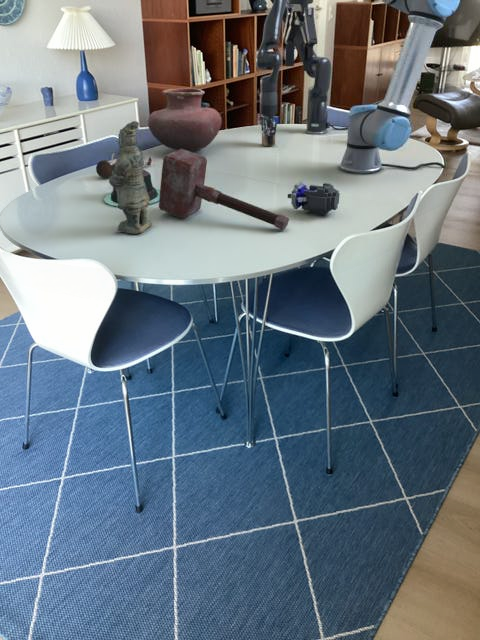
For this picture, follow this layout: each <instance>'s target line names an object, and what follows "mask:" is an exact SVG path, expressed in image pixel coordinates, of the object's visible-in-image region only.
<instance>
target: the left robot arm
mask: <svg viewBox="0 0 480 640" xmlns="http://www.w3.org/2000/svg"><path fill="white" fill-rule="evenodd" d="M269 1H270V2H271V4H272V5H271V8H270V9H269V12H268V13H267V16H266V18H265V20H264V24H263V32H262V41H261V44H260V46H259V49H258V52H257V55H256V58H255V65H256V67H257V69H258V70H260V71H271V73H270V74H269V75H264V76H262V77H260V87H259V88H260V92H259V115H261V117H260V127H261V132H262V133H268V145H270V146H274V145H273V136H274V135H275V136H276V134H277V126H278V122H277V121H275V116H276V115H277V114H278V79H279V78H278V77H279V73H280V69H281V66H282V61H283V59H282V58H283V57H282V55H281V52H279V51H273V50H272V51H269V50H271V49H273V48H276V47H278V46H279V44H280V39H281V30H282V23H283V26H285V23H286V18H287V8H288V7H292V6H293V5H292V4H288V2H287V1H288V0H269ZM294 40H295V49H296V51H297V53H298V55H299V57H300V61H301V63H302V64H303V52H304V47H303V46H304V43H305V42H304V39H303V35H302V31H301V27H298V29H297V32H296V35H295V38H294ZM332 68H333V67H332V62H331V60H330V59H329V58H328V57H325V56H318V55H317V53H316V52H315V50H314V49H313V63H312V71H305V73H306V74H307V76H308V77H310V78H312V79H314V82H313V84H312V85H311V86H310V87H308V90H307V107H306V108H307V109H306V110H307V111H306V130H305V131H306V133H307V134H311V135H321V134H325V133H326V132H327V131H328V129H331V128H332V129H333V130H335V131H345V130H348V126H347V127H341V128H340V127H335V126H334V125H333V124H331V122H330V121H328V113H329V112H328V97H329V96H328V95H329V90H330V87H331V78H332Z"/></svg>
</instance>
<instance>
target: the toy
mask: <svg viewBox="0 0 480 640" xmlns="http://www.w3.org/2000/svg"><path fill="white" fill-rule="evenodd" d="M293 187H294V188H293V189H292V191H291V193H288V194H287V199H291V200H290V201H291V202H290V203H291V206H292V207H293V210H298V209H299V208H301V210H303V211H306V212H307V214H310V215H311V214H312V215H318V216H326V215H328V213H330V212H331V211H336V210H337V209H338V205H339V204H340V194H341V193H340V190H338V189H337V188H335V187H334V184H332V183H328V182H324V183H322V185H315V184H310V185H309V186H308V187H309V188H308V187H307V185H306V184H305V183H304V181H301V180H299V181H298V182H296V183H295V184H294V186H293Z"/></svg>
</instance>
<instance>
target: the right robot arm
mask: <svg viewBox="0 0 480 640" xmlns="http://www.w3.org/2000/svg"><path fill="white" fill-rule="evenodd" d="M287 2H288V4H292V5H293V6H292V7H288V8H287V18H286V23H285V25H284V29H283V33H282V41H284V43H285V61H284V66H285V67H295V49H296V47H295V40H294V38H295V35H296V32H297V29H298V27H301V31H302V35H303V39H304V42H305V43H304V46H303V47H304V52H303V63H302V71H303V72H306V71H312V63H313V50H314V47H315V45H317V44H318V36H317V35H318V34H317V29H316V22H315V9H314V7H309V5H310V4H311V5H312V4H313V3H314V0H288V1H287ZM381 2H382V3H384V4H385V5H388V6H389V7H391V8H394V9H395V10H398V11H400V12H402V13H403V14H406V15H407V19H408V22H409V27H408V29H407V32H406V34H405V38H404V41H403V44H402V47H401V50H400V52H399V55H398V58H397V61H396V64H395V67H394V70H393V74H392V76H391V79H390V82H389V83H388V88H387V91H386V92H385V96H384V99H383V100H382V101H381V102H379V103H377V104H362V105H354V106H353V105H352V107H351V108H350V109H349V113H348V126H347V127H348V129H347V138H346V139H347V140H346V149H345V151H344V154H343V156H342V158H341V162H340V170H341V171H343V172H345V173H349V174H355V175H356V174H357V175H369V174H370V175H371V174H376V173H378V172H380V171H382V167H385V168H395V169H403V170H411V171H412V170H418V169H420V168H421V167H428V166H439V167H441V168H442V169H447V167H446V166H445V165H444V164H443V163H442V162H437V161H434V162H433V161H432V162H427V163H425V162H424V163H420V164H418V165H415V166H405V165H399V164H392V163H391V164H390V163H382V161H381V155H380V150H382V151H387V152H393V151H397V150H398V149H400V148H402V147H403V146H404V145H405V144H406V143H407V142H408V141H409V138H410V136H411V134H412V126H411V122H410V121H409V120H410V117H411V110H410V109H409V106H410V104H411V101H412V98H413V95H414V93H415V90H416V88H417V85H418V81H419V79H420V76H421V74H422V70H423V67H424V65H425V62H426V59H427V57H428V55H429V52H430V48H431V45H432V43H433V41H434V37H435V35H436V32H437V31H438V30H439V29H441V28H443V27H444V24H445V21H446V19H447V17H450V16H451V15H452V14H454V13H455V12H456V10H457V9H458V7H459V5H460V3H461V0H381Z"/></svg>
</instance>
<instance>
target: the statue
mask: <svg viewBox="0 0 480 640" xmlns="http://www.w3.org/2000/svg"><path fill="white" fill-rule="evenodd" d="M139 126H140V122H139V121H136V120H134V121H131V122H129V123H127V124H126V125H125V126H123V127H122V128H121V129H119V133H118V139H117V141H118V146H119V152H118V154H117V156H116V160H115V163H116V164H115V170H114V175H113V176H111V177H109V180H108V183H109V184H110V186H111V187H112V188H113V187H114V188H115V189H116V192H117V202H118V206H117V209H119V210H122V213H123V214H124V215H125V218H126V219H125V220H122V221H120V222H119V224H118V225H117V231H118V232H121V233H126V234H134V235H136V234H142V233H143V232H145V231H146V230H147V229H148V228H150V227H151V226H152V225H153V223H152V220H150V219H148V216H147V214H148V213H147V212H148V211H147V209H148V206H149V205H150V197H149V195H148V192H147V188H146V184H145V182H144V178H143V169H144V166H145V165H144V163H145V157H144V153H143V151H142V150H141V149H139V147H138V145H137V144H138V142H137V141H138V140H137V139H138V137H137V132H138V131H139V128H140V127H139Z"/></svg>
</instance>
